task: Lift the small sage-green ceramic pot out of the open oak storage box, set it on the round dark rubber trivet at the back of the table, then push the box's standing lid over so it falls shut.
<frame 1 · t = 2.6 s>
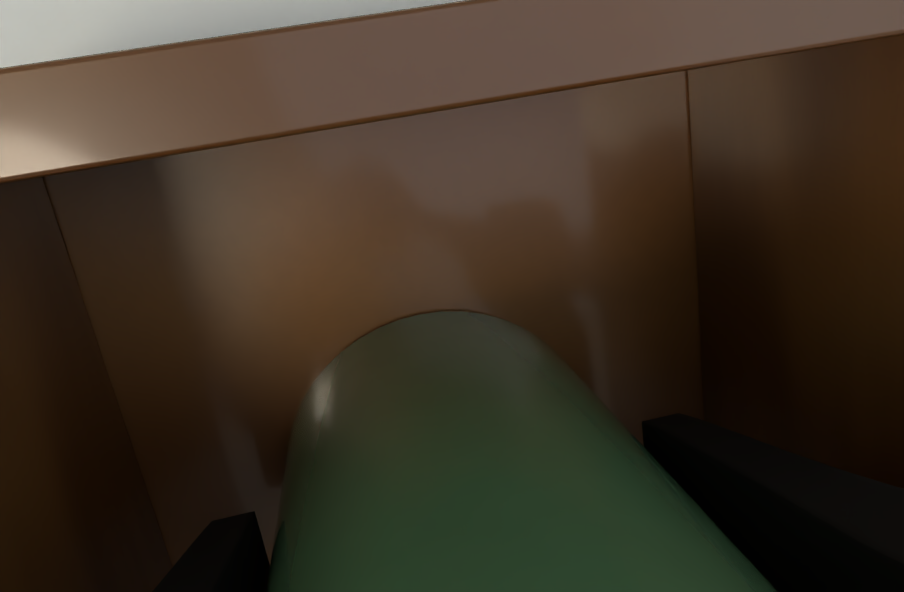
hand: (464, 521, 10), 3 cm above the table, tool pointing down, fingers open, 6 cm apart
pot: (444, 456, 12), point 1 cm above the table, touching box
box: (437, 435, 13), on the table
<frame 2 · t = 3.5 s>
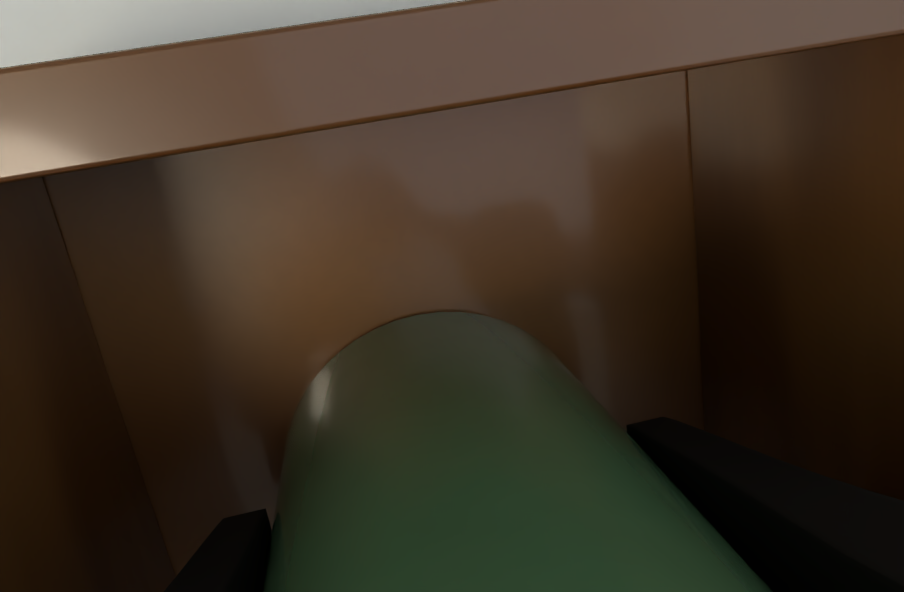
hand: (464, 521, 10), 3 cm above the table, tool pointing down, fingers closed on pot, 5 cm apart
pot: (441, 456, 12), point 1 cm above the table, touching box, gripper
box: (437, 435, 13), on the table
when the fingers open (3 cm above the table, at t = 8.9 s): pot stays where it is, resting on trivet.
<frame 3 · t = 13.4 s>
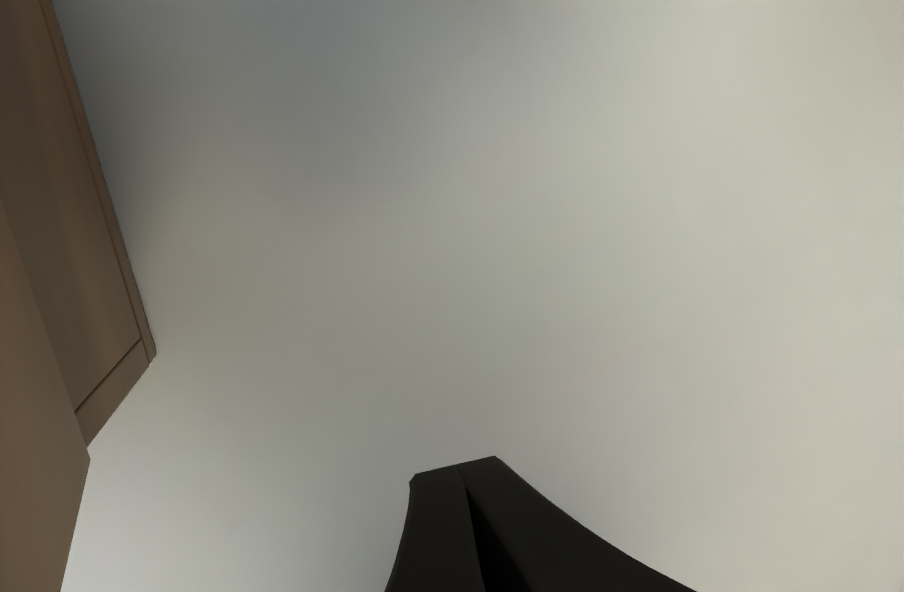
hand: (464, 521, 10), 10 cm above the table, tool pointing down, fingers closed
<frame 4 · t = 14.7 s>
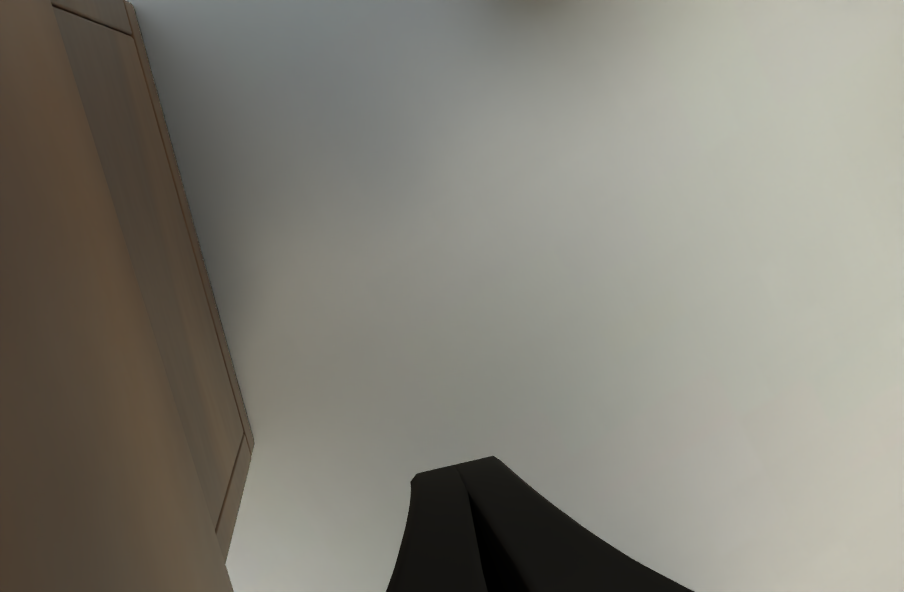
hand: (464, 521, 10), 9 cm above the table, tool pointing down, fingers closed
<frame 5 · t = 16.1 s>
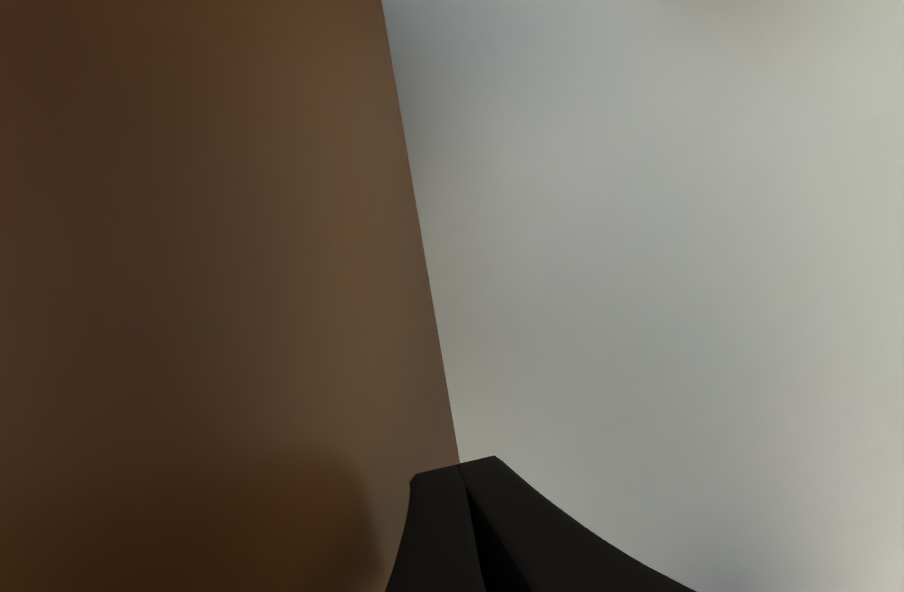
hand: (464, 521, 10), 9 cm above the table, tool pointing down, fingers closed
lid: (51, 510, 5), point 12 cm above the table, hinge at 60.3°
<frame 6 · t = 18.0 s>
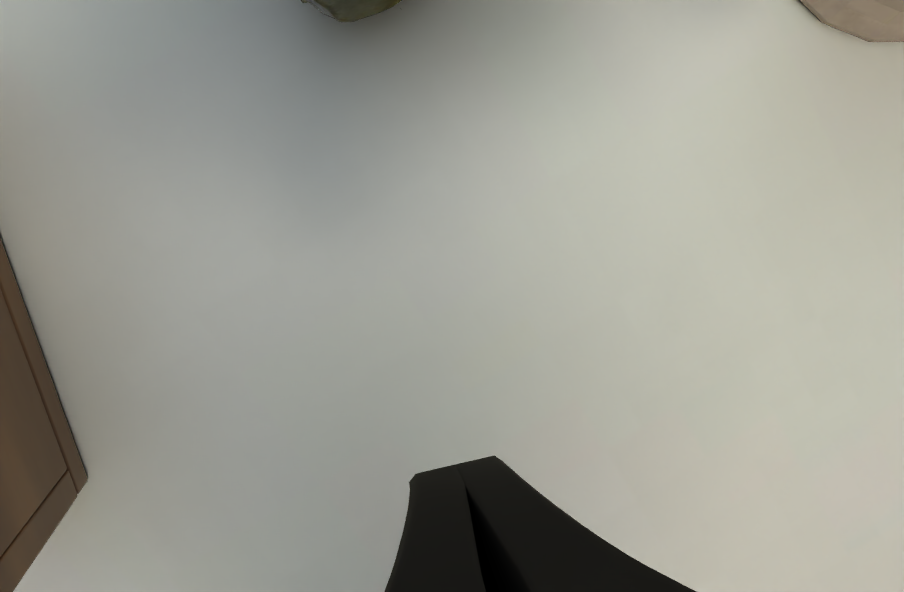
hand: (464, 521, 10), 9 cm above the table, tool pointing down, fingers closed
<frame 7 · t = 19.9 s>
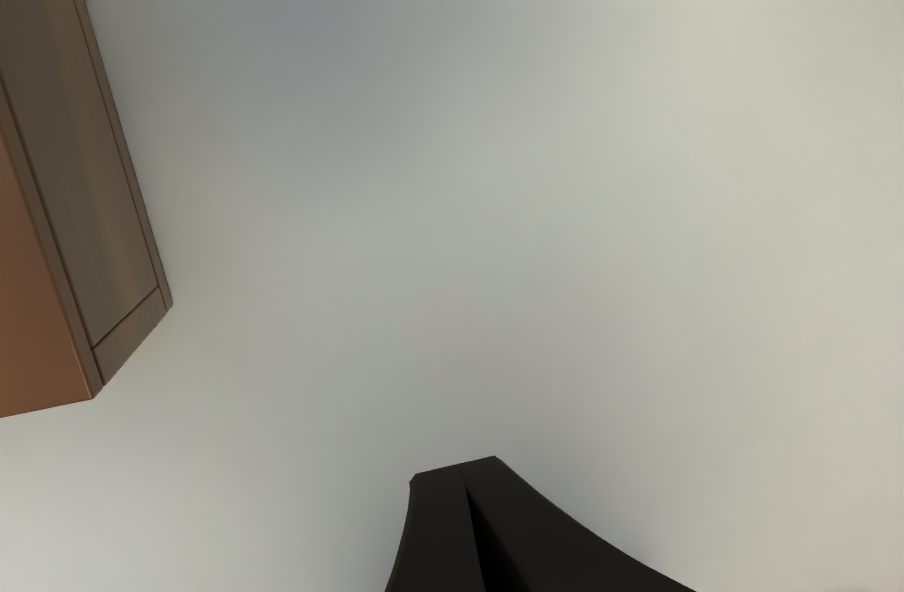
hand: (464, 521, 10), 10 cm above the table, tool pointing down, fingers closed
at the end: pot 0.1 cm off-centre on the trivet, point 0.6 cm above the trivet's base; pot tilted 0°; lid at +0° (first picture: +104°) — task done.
